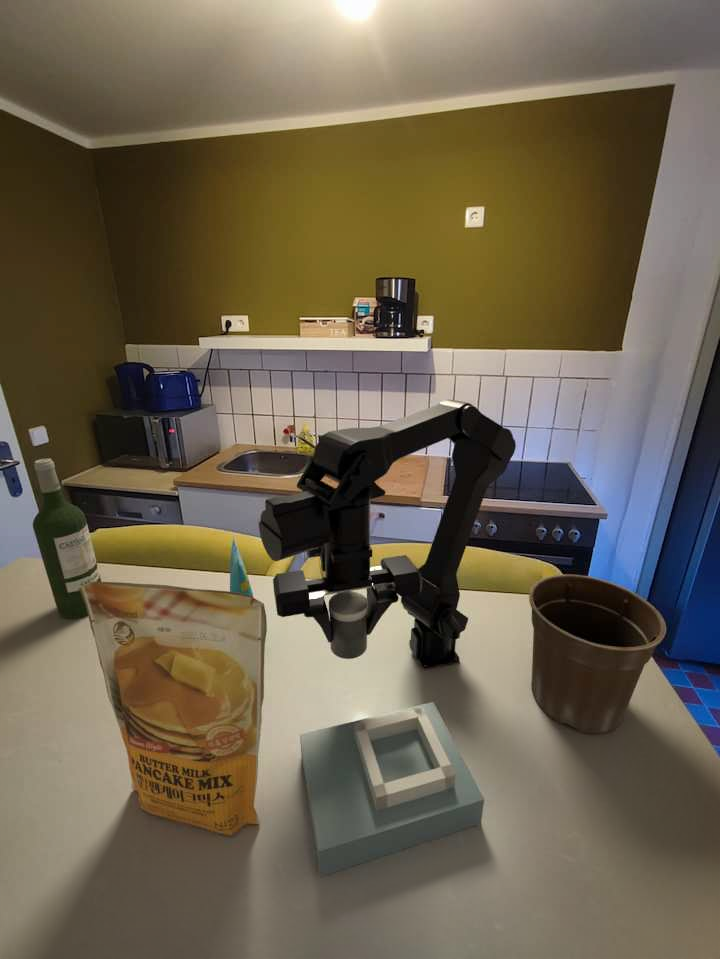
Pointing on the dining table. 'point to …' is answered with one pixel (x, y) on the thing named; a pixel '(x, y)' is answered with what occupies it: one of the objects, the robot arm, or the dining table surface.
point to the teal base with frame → (385, 786)
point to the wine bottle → (63, 544)
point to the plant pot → (589, 649)
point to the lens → (348, 624)
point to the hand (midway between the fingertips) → (348, 636)
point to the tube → (238, 573)
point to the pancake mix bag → (185, 696)
